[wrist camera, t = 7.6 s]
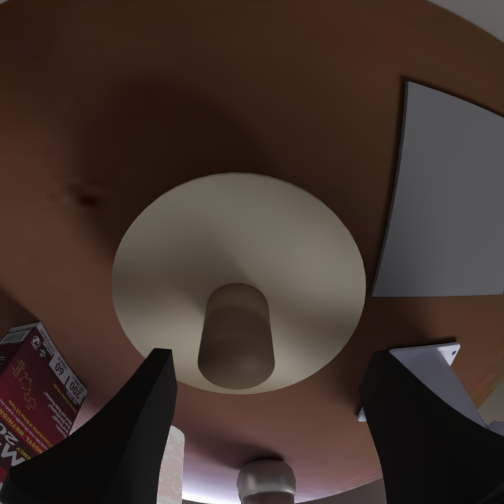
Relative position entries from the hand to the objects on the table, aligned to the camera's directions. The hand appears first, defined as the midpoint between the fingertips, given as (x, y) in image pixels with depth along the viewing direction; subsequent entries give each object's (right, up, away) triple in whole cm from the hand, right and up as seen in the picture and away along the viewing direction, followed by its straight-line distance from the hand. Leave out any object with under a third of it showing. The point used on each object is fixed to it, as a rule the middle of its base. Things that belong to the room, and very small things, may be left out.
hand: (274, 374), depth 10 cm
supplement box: (-19, -5, +12) cm, 23 cm away
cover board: (-1, +2, +4) cm, 5 cm away
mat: (+15, +7, +7) cm, 18 cm away
